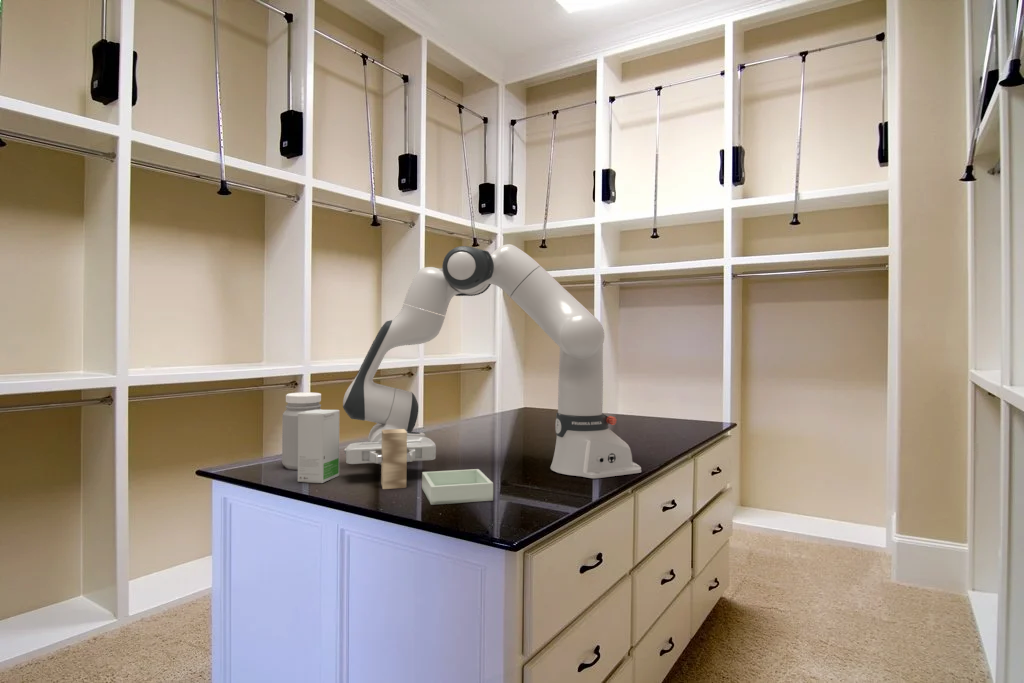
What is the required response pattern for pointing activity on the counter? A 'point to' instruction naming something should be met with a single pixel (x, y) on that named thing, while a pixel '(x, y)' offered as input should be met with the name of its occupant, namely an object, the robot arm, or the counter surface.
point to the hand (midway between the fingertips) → (394, 459)
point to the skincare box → (318, 445)
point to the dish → (456, 486)
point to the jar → (295, 424)
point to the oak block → (394, 458)
